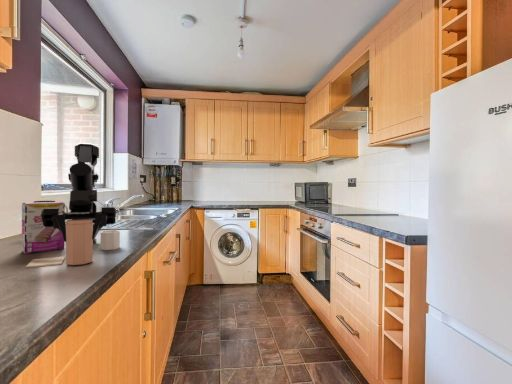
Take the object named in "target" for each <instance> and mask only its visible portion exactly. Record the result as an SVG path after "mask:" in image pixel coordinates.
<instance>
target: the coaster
mask: <svg viewBox="0 0 512 384" xmlns="http://www.w3.org/2000/svg"><path fill="white" fill-rule="evenodd" d="M64 260H66V256H56V257H55V256H54V257H46V258H45V257H43V258H35V259H34V258H32V260H31V261H30V262H28V264H27V265H26V266H25V268H26V269H29V268H39V267H49V266H50V267H51V266H57V265H63V263H64Z"/></svg>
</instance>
